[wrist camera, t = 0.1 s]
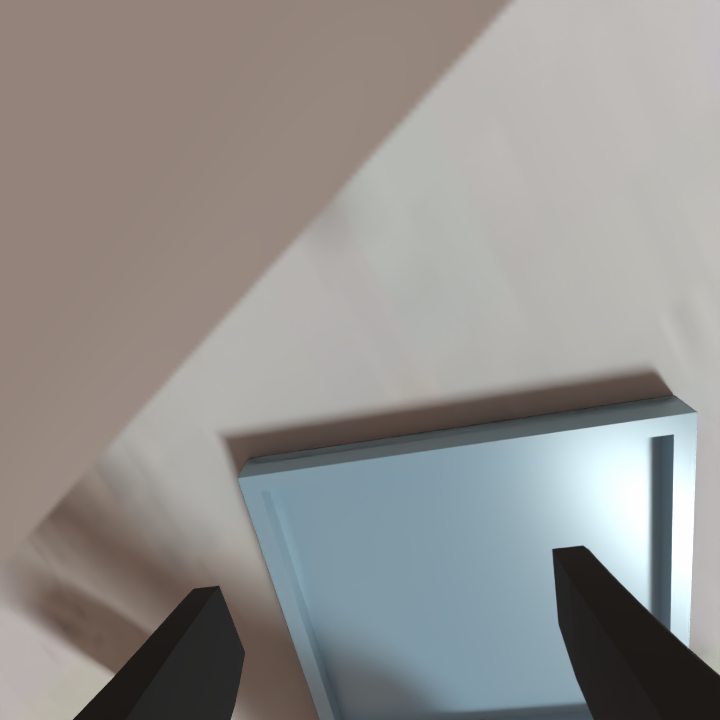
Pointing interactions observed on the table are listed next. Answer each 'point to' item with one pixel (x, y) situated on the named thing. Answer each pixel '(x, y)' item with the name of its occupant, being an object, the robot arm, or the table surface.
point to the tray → (471, 555)
